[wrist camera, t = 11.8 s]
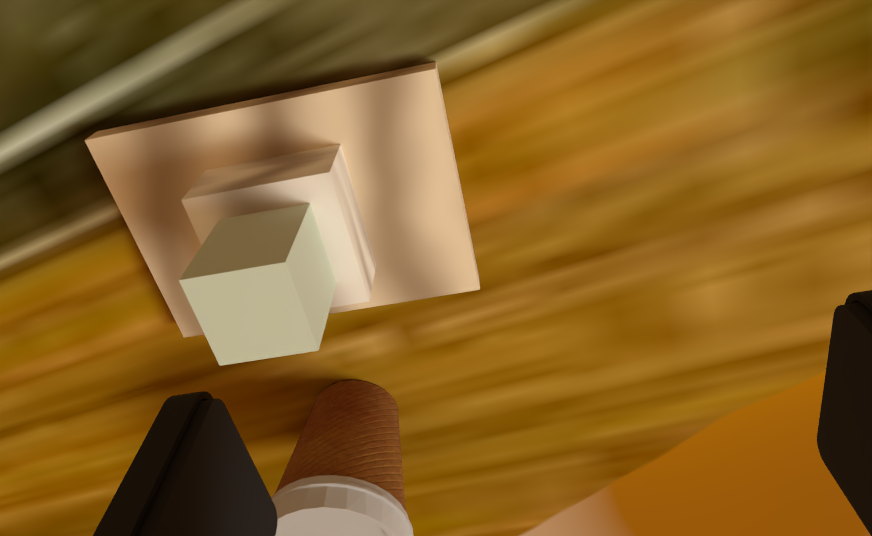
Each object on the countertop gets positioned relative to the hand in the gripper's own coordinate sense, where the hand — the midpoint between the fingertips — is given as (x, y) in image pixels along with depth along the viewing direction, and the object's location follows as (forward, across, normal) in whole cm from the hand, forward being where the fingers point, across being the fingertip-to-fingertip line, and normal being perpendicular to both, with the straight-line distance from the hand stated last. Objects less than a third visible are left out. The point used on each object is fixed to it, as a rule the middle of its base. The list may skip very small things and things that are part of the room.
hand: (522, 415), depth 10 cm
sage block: (+23, +12, +8) cm, 27 cm away
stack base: (+28, +12, +8) cm, 32 cm away
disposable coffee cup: (+28, +13, +25) cm, 40 cm away
